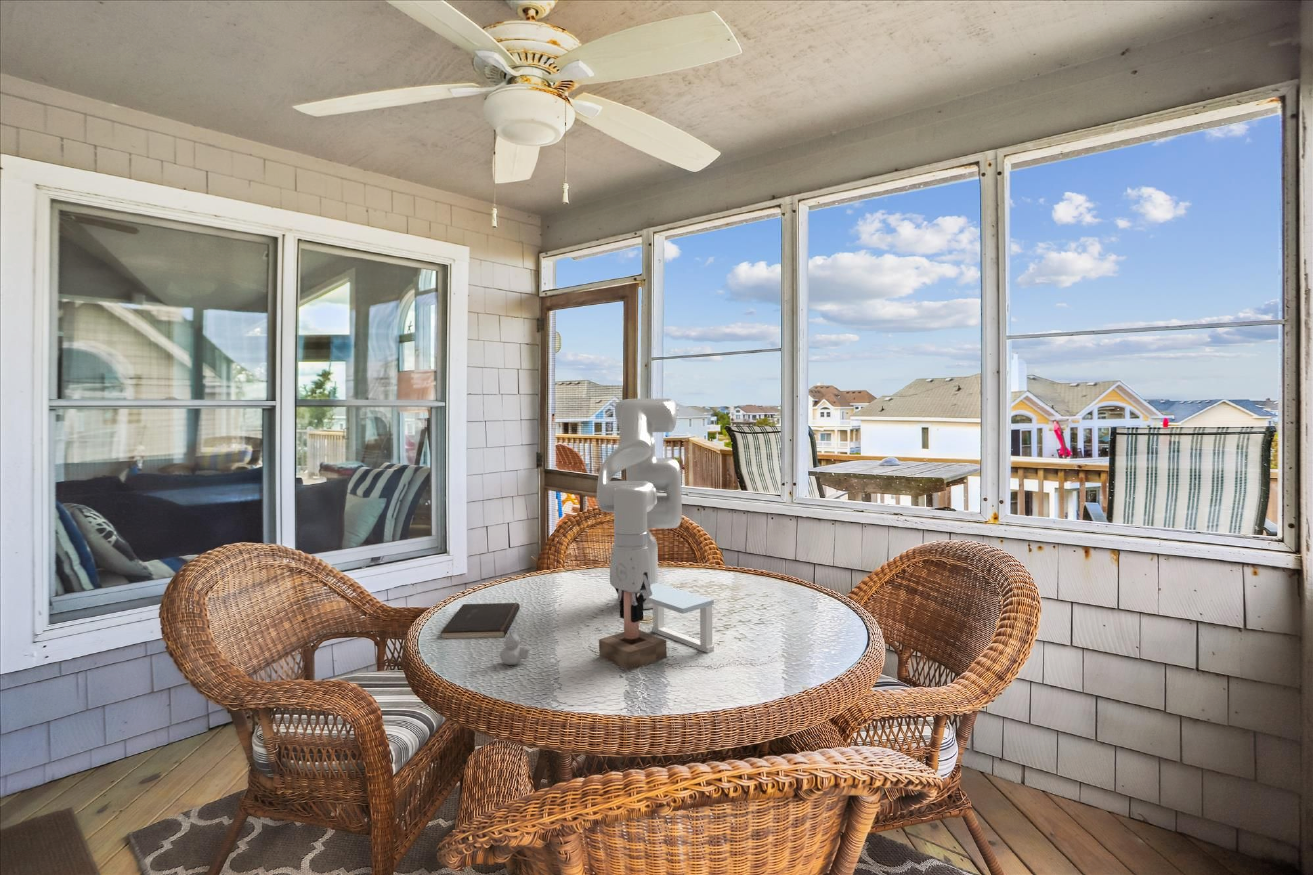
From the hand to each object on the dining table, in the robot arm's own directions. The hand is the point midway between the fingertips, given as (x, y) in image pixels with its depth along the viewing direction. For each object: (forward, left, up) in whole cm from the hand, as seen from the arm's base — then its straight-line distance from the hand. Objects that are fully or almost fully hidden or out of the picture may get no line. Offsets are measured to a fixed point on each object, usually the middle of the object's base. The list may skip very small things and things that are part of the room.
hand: (631, 618), depth 151 cm
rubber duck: (-15, -22, -9) cm, 28 cm away
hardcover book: (-46, -14, -10) cm, 49 cm away
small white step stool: (0, +12, -9) cm, 15 cm away
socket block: (0, 0, -9) cm, 9 cm away
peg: (0, 0, -4) cm, 4 cm away
